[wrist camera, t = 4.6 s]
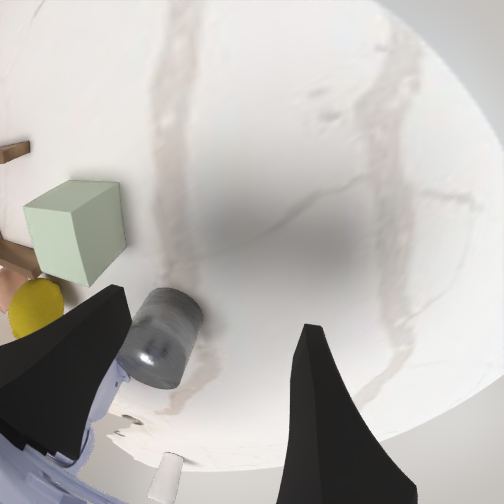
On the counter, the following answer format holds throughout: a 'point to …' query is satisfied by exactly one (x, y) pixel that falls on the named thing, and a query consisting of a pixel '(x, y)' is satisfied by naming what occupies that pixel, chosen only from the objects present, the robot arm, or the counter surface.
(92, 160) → the counter surface
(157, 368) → the can
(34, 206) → the block
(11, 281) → the peach rounded cylinder
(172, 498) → the drinking glass
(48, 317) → the lemon
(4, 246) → the corral
